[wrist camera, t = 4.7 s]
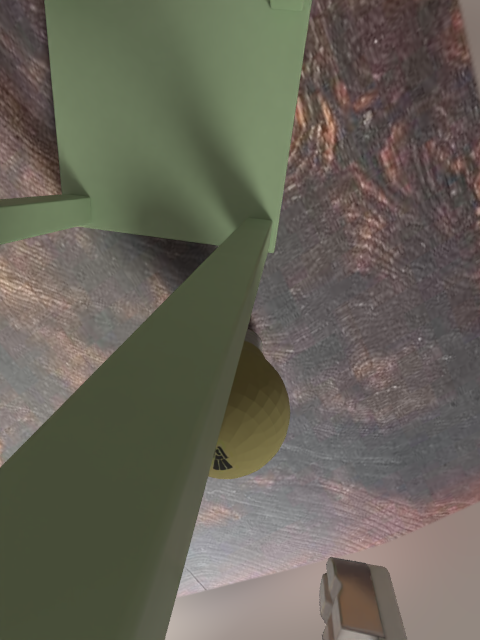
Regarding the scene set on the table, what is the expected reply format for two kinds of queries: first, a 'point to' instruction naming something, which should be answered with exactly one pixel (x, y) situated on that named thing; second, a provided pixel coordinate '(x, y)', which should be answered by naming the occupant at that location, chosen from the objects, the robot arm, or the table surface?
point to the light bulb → (251, 415)
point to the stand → (169, 318)
